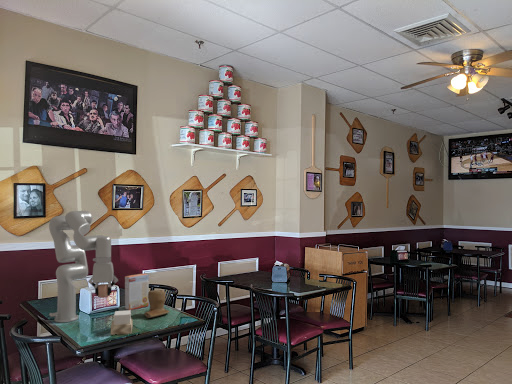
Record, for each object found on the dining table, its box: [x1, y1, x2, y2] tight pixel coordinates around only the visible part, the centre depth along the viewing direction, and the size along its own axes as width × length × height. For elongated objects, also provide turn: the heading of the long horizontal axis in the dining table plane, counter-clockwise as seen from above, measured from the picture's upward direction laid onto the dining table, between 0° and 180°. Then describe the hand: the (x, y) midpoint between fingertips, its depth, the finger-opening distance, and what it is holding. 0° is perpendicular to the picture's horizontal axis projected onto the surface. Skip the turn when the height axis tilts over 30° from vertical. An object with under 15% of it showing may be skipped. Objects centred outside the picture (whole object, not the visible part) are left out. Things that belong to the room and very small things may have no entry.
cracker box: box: [124, 273, 150, 311], centre depth 262 cm, size 14×6×21 cm, turn 136°
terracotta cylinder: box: [97, 283, 109, 299], centre depth 213 cm, size 5×5×6 cm
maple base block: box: [110, 318, 133, 336], centre depth 216 cm, size 10×10×5 cm
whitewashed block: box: [113, 309, 132, 325], centre depth 216 cm, size 8×8×5 cm
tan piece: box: [143, 289, 170, 319], centre depth 245 cm, size 15×12×15 cm
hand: (103, 294), depth 213 cm, fingers closed on terracotta cylinder, 5 cm apart
